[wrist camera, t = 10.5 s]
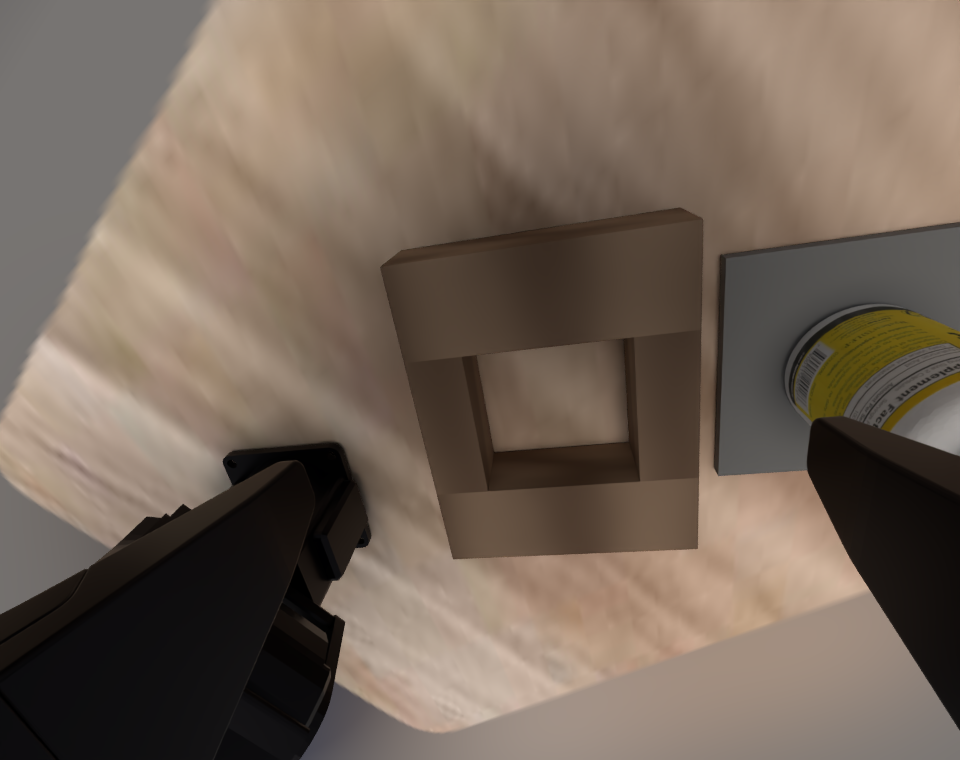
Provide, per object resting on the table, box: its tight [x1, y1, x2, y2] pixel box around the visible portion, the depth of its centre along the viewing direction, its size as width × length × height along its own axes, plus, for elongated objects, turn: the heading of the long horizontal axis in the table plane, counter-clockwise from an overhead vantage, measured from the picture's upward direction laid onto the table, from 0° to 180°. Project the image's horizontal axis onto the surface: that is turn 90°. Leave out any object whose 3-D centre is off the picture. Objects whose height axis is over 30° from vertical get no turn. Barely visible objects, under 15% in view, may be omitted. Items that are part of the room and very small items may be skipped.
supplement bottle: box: [785, 304, 960, 456], centre depth 16 cm, size 5×5×10 cm
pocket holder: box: [380, 208, 703, 559], centre depth 21 cm, size 11×14×3 cm
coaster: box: [714, 223, 960, 476], centre depth 20 cm, size 10×10×1 cm
